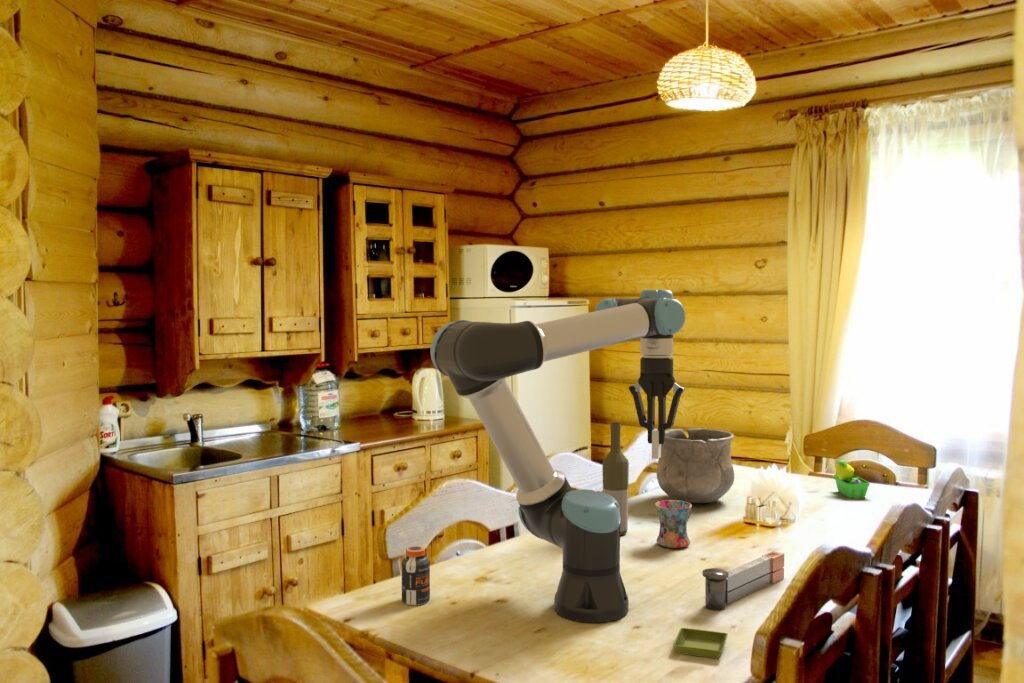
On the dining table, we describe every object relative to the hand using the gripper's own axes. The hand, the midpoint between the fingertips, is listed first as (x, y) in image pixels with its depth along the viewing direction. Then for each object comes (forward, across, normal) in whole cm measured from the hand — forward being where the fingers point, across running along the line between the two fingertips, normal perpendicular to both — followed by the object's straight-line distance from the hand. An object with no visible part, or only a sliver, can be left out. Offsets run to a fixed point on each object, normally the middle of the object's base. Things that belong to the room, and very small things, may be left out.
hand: (656, 457), depth 195 cm
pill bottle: (+27, -42, -39) cm, 63 cm away
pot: (+27, -4, +68) cm, 73 cm away
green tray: (+27, +18, -40) cm, 52 cm away
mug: (+27, 0, +22) cm, 34 cm away
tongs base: (+26, +21, -8) cm, 35 cm away
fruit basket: (+26, +40, +95) cm, 106 cm away
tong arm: (+24, +23, -6) cm, 33 cm away
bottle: (+27, -17, +25) cm, 40 cm away
